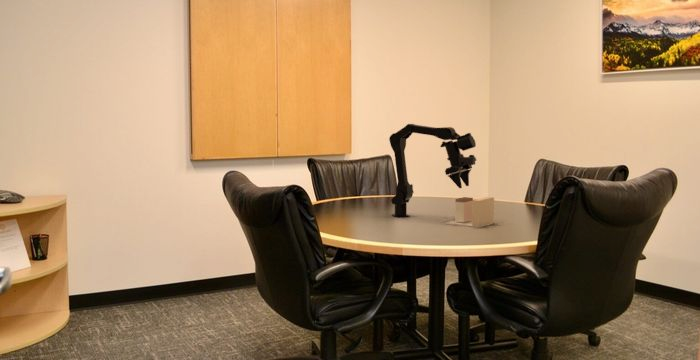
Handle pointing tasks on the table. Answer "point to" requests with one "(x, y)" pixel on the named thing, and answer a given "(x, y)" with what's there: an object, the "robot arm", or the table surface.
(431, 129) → the robot arm
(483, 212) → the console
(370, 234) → the table surface
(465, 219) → the brown topped beige block
